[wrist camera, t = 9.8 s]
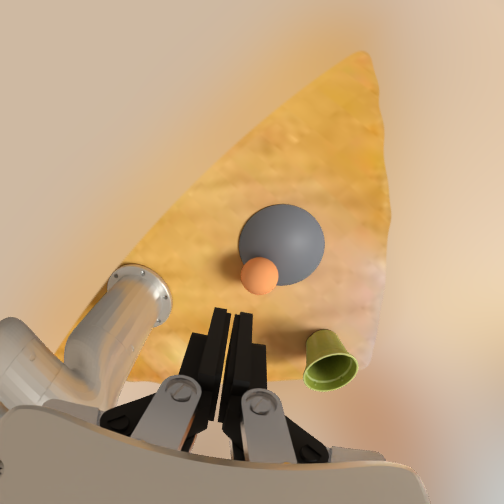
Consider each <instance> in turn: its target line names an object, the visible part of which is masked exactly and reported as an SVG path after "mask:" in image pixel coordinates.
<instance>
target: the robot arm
mask: <svg viewBox="0 0 504 504" xmlns="http://www.w3.org/2000/svg"><path fill="white" fill-rule="evenodd" d="M171 310H172V296H171V293H170V290H169V288H168V286H167V285H166V283H165V282H164V281H163V279H162V278H161V277H160V276H159V275H158V274H157V273H155V272H154V271H152V270H151V269H149V268H147V267H145V266H141V265H137V264H128V265H124V266H121V267H119V268H118V269H116V270H115V271H114V272H113V273H112V275H111V276H110V278H109V281H108V285H107V293H106V294H105V295H104V296H103V297H102V298H101V299H100V300H99V302H98V303H97V304H96V305H95V306H94V307H93V308H92V309H91V311H90V312H89V313H88V314H87V315H86V316H85V317H84V319H83V320H82V321H81V322H80V323H79V324H78V326H77V327H76V328H75V329H74V330H73V332H72V333H71V334H70V336H69V338H68V340H67V342H66V346H65V352H64V363H62V362H61V361H60V360H59V359H58V358H57V357H56V356H55V355H54V354H53V353H52V352H51V351H50V350H49V349H48V348H47V347H46V346H45V344H44V343H43V342H42V341H41V340H40V339H39V338H38V337H37V336H36V335H35V334H34V333H33V332H32V330H31V329H30V328H29V327H28V326H27V325H26V324H25V323H24V322H22V321H21V320H19V319H17V318H14V317H8V318H5V319H3V320H1V321H0V504H431V502H430V499H429V496H428V493H427V491H426V488H425V486H424V484H423V482H422V480H421V478H420V476H419V475H418V474H417V472H415V470H413V469H412V468H410V467H408V466H405V465H403V464H399V463H394V462H387V461H386V460H385V458H384V457H383V455H382V454H380V453H379V452H376V451H367V450H358V449H350V448H342V447H335V446H332V447H331V448H327V447H325V446H324V445H323V444H322V443H321V442H319V441H318V440H317V439H315V438H314V437H313V436H311V435H310V434H309V433H307V432H306V431H305V430H303V429H302V428H301V427H299V426H298V425H297V424H295V423H294V422H293V421H292V420H290V419H289V418H288V417H287V416H285V415H284V411H283V407H282V403H281V401H280V399H279V397H278V396H277V395H276V394H275V393H273V392H271V391H269V390H267V368H266V346H265V345H261V344H254V343H252V322H253V314H250V313H244V312H240V315H237V314H235V317H234V323H233V328H232V333H231V338H230V343H229V349H228V354H227V359H226V366H225V373H224V380H223V387H222V394H221V402H220V409H219V416H218V422H221V423H223V425H222V430H223V432H224V433H225V434H226V435H227V436H228V437H229V438H230V452H231V460H230V459H222V458H215V457H209V456H203V455H198V454H192V453H191V450H192V448H193V445H194V443H195V440H196V438H197V434H198V433H200V432H201V431H203V430H205V429H207V425H208V420H209V421H214V416H215V410H216V404H217V399H218V394H219V388H220V383H221V377H222V371H223V364H224V357H225V351H226V344H227V338H228V331H229V325H230V318H231V313H227V309H222V308H216V307H215V309H214V313H213V316H212V320H211V324H210V328H209V332H208V335H203V334H198V333H192V335H191V337H190V341H189V344H188V347H187V350H186V353H185V356H184V359H183V362H182V365H181V368H180V372H179V375H174V376H170V377H168V378H166V379H165V380H164V381H163V382H162V384H161V386H160V387H159V389H158V391H157V392H156V393H154V394H151V395H149V396H146V397H143V398H141V399H138V400H135V401H132V402H129V403H127V404H123V405H121V406H117V407H116V405H117V401H118V398H119V395H120V393H121V389H122V388H123V386H124V383H125V381H126V379H127V377H128V375H129V373H130V371H131V369H132V367H133V365H134V363H135V361H136V359H137V357H138V355H139V353H140V351H141V349H142V347H143V345H144V343H145V341H146V339H147V338H148V336H149V334H150V332H151V330H152V328H153V327H157V326H159V325H161V324H163V323H164V322H165V321H166V320H167V318H168V317H169V315H170V313H171Z"/></svg>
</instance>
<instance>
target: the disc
mask: <svg viewBox="0 0 504 504" xmlns="http://www.w3.org/2000/svg"><path fill="white" fill-rule="evenodd" d="M324 246H325V242H324V235H323V232H322V229H321V227H320V225H319V223H318V222H317V221H316V219H315V218H314V217H313V216H312V215H311V214H310V213H308V212H307V211H305V210H303V209H301V208H299V207H296V206H293V205H286V204H280V205H273V206H269V207H266V208H264V209H262V210H260V211H259V212H257V213H256V214H255V215H253V216H252V217H251V218H250V219H249V220H248V222H247V223H246V225H245V226H244V228H243V230H242V233H241V236H240V241H239V252H240V257H241V259H242V262H243V264H244V265H245V264H246V263H247V262H248V261H249V260H251V259H253V258H256V257H263V258H266V259H269V260H270V261H272V262H273V263H274V264H275V266H276V268H277V270H278V282H277V284H276V285H278V286H283V285H291V284H294V283H297V282H299V281H302V280H303V279H305V278H307V277H308V276H309V275H310V274H311V273H312V272H314V270H315V269H316V268H317V267H318V265H319V263H320V261H321V259H322V256H323V253H324Z"/></svg>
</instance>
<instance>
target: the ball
mask: <svg viewBox="0 0 504 504" xmlns="http://www.w3.org/2000/svg"><path fill="white" fill-rule="evenodd" d="M241 281H242V284H243V286H244V287H245V288H246V290H248V291H249V292H251V293H253V294H256V295H263V294H266V293H269V292H270V291H272V290H273V289H274V288H275V286H276V284H277V282H278V270H277V268H276V266H275V264H274V263H273V262H272V261H270V260H269V259H266V258H263V257H256V258H253V259H251V260H249V261H248V262H247V263H246V264H245V265H244V266H243V268H242V271H241Z"/></svg>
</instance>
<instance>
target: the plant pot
mask: <svg viewBox="0 0 504 504" xmlns="http://www.w3.org/2000/svg"><path fill="white" fill-rule="evenodd" d="M357 372H358V362H357V360H356V358H355V357H354V356H352V355H351V354H349V353H348V352H347V351H346V349H345V347H344V346H343V344H342V343H341V341H340V340H339V338H338V336H337V335H336V334H335V333H334V332H332V331H331V330H320V331H317V332H315V333H314V334H313V335H312V336H311V337H309V338H308V339H307V342H306V368H305V371H304V374H303V381H304V383H305V385H306V386H307V387H308V388H310V389H312V390H315V391H321V392H326V391H332V390H336V389H339V388H341V387H343V386H345V385H346V384H348V383H349V382H350V381H351V380H352V379H353V378H354V377H355V375H356V374H357Z"/></svg>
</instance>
